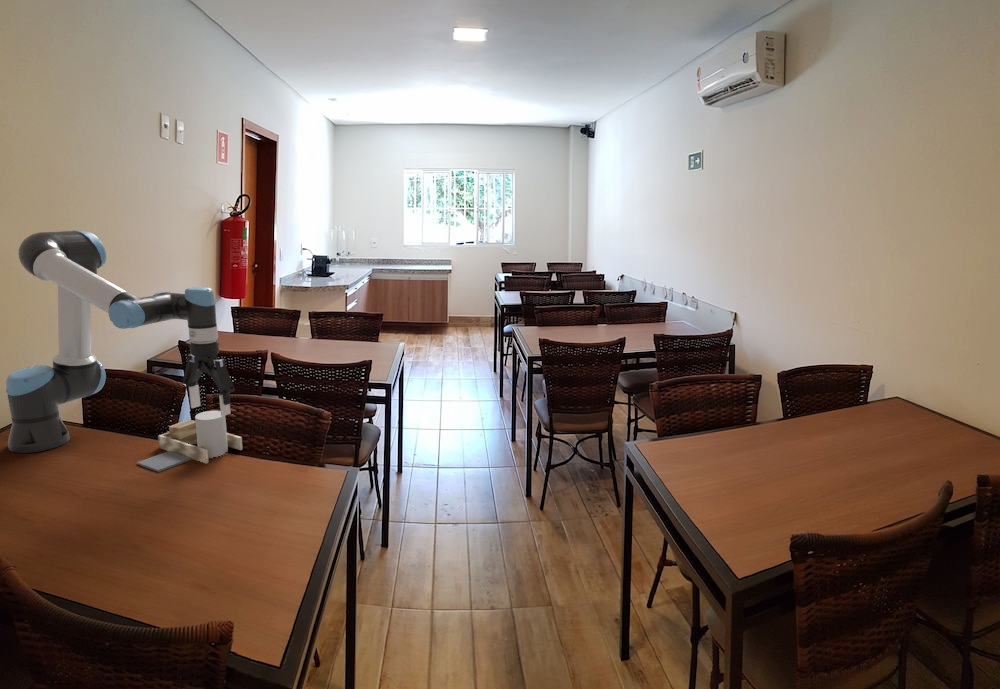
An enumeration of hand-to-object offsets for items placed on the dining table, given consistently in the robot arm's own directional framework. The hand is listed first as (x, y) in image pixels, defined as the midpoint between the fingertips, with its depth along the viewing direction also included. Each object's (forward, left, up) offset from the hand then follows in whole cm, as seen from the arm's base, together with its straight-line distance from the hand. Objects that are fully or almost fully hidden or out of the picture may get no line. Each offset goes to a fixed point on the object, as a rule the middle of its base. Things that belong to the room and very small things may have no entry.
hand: (210, 410), depth 184 cm
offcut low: (-13, 0, -14) cm, 19 cm away
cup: (0, 0, -14) cm, 14 cm away
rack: (-6, 0, -13) cm, 15 cm away
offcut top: (-13, 0, -10) cm, 17 cm away
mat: (-6, -12, -13) cm, 19 cm away
